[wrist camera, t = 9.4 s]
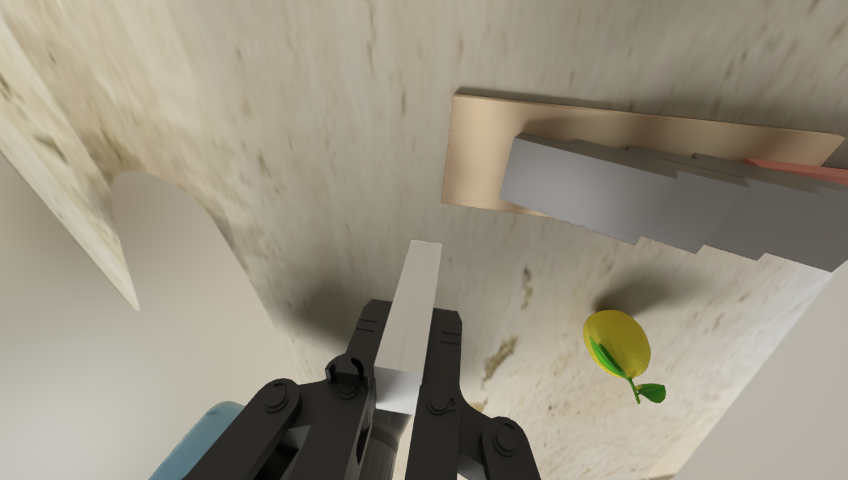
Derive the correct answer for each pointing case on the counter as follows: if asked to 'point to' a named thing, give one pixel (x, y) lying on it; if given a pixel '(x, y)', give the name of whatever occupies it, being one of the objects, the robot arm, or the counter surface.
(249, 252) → the counter surface
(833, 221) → the domino
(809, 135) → the board
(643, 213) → the domino
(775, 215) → the domino
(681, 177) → the domino
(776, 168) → the domino
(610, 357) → the lemon
